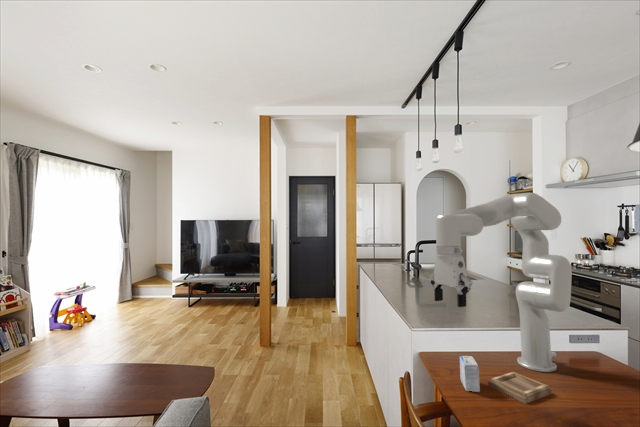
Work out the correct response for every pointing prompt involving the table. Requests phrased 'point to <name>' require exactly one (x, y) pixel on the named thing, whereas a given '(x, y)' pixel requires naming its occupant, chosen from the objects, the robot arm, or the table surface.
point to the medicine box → (469, 373)
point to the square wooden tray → (519, 387)
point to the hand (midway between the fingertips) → (449, 303)
